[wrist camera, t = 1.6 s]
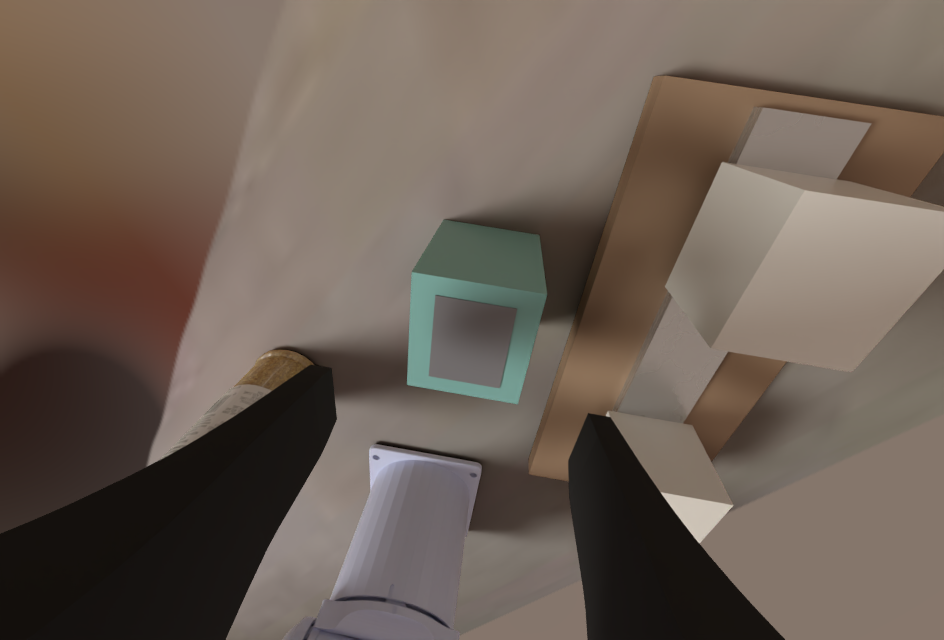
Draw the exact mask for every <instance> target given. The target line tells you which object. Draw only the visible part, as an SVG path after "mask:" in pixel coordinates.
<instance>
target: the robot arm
mask: <svg viewBox="0 0 944 640" xmlns="http://www.w3.org/2000/svg"><path fill="white" fill-rule="evenodd" d="M336 420H337V416H336V407H335V397H334V387H333V377H332V368H328V367H322V366H316V365H311V364H310V365H309V366H307V367H306V368H304V369H303V370H301V371H300V372H299V373H297V374H296V375H294V376H293V377H291V378H290V379H288V380H287V381H285V382H284V383H283V384H281V385H280V386H278V387H277V388H275V389H274V390H272V391H271V392H270V393H268V394H267V395H265V396H264V397H262V398H261V399H259V400H258V401H256V402H255V403H253V404H252V405H250V406H249V407H247V408H246V409H244V410H243V411H241V412H240V413H238V414H237V415H235V416H234V417H232V418H231V419H229V420H227V421H226V422H224V423H222V424H221V425H219V426H218V427H216V428H214V429H213V430H211V431H210V432H208V433H206V434H205V435H203V436H201V437H200V438H198V439H197V440H195V441H193V442H191V443H190V444H188V445H186V446H185V447H183V448H181V449H179V450H177V451H176V452H174V453H172V454H170V455H168V456H167V457H165V458H163V459H161V460H159V461H157V462H155V463H153V464H151V465H150V466H148V467H146V468H144V469H142V470H140V471H138V472H136V473H134V474H132V475H130V476H128V477H126V478H124V479H122V480H120V481H118V482H116V483H113V484H112V485H109V486H107V487H105V488H103V489H101V490H99V491H97V492H95V493H92V494H91V495H88V496H86V497H84V498H82V499H80V500H78V501H76V502H74V503H71V504H69V505H67V506H65V507H63V508H60V509H58V510H55V511H53V512H51V513H49V514H46V515H44V516H42V517H39V518H37V519H35V520H33V521H30V522H28V523H25V524H23V525H20V526H18V527H16V528H13V529H11V530H8V531H6V532H4V533H1V534H0V640H226V637H227V635H228V633H229V630H230V628H231V626H232V624H233V622H234V619H235V617H236V615H237V613H238V610H239V608H240V606H241V604H242V602H243V599H244V597H245V595H246V593H247V590H248V588H249V586H250V584H251V582H252V580H253V578H254V576H255V574H256V571H257V569H258V567H259V565H260V563H261V561H262V559H263V557H264V555H265V552H266V550H267V548H268V546H269V545H270V543H271V541H272V539H273V537H274V535H275V533H276V531H277V530H278V528H279V526H280V525H281V523H282V521H283V519H284V518H285V516H286V514H287V513H288V511H289V509H290V507H291V506H292V504H293V502H294V501H295V499H296V497H297V496H298V494H299V492H300V490H301V489H302V487H303V485H304V484H305V482H306V480H307V478H308V477H309V475H310V473H311V472H312V470H313V468H314V466H315V465H316V463H317V461H318V459H319V458H320V456H321V454H322V452H323V450H324V448H325V446H326V443H327V441H328V439H329V437H330V434H331V432H332V429H333V427H334V425H335V422H336ZM369 461H370V488H371V492H370V494H369V497H368V500H367V502H366V505H365V508H364V510H363V513H362V516H361V518H360V521H359V524H358V526H357V529H356V532H355V534H354V537H353V539H352V542H351V545H350V547H349V550H348V553H347V555H346V558H345V561H344V563H343V566H342V569H341V571H340V574H339V577H338V579H337V582H336V584H335V587H334V590H333V592H332V595H331V598H330V600H329V599H324V600H323V603H322V605H321V608H320V611H319V613H318V616H317V618H313V617H305V618H303V619H302V620H301V621H300V623H298V624H297V625H295V626H294V627H292V628H291V629H290V630H289V631H288V632H287V634H286V635H285V636H284V638H283V640H459V635H460V632H459V631H457V630H454V629H453V628H454V620H455V612H456V604H457V596H458V588H459V581H460V573H461V565H462V557H463V549H464V541H465V537H466V536H467V534H468V529H469V525H470V520H471V516H472V511H473V507H474V503H475V498H476V494H477V489H478V485H479V481H480V476H481V472H482V466H481V464H479V463H477V462H473V461H467V460H462V459H456V458H451V457H445V456H440V455H434V454H429V453H423V452H418V451H412V450H407V449H401V448H395V447H390V446H384V445H379V444H374V445H372V446H371V448H370V450H369ZM568 477H569V498H570V505H571V512H572V519H573V526H574V532H575V539H576V545H577V552H578V558H579V564H580V571H581V577H582V584H583V591H584V599H585V608H586V621H587V636H588V640H785V639H784V638H783V637H782V636H781V635H780V634H779V633H778V632H777V631H776V630H775V628H774V627H773V626H772V625H771V624H770V623H769V622H768V621H767V620H766V619H765V618H764V617H763V616H762V615H761V614H760V613H759V612H758V610H757V609H756V608H755V607H754V606H753V605H752V604H751V603H750V602H749V601H748V600H747V599H746V597H745V596H744V595H743V594H742V593H741V592H740V591H739V590H738V589H737V587H736V586H735V585H734V584H733V583H732V582H731V581H730V580H729V578H728V577H727V576H726V575H725V574H724V572H723V571H722V570H721V569H720V568H719V567H718V565H717V564H716V563H715V562H714V561H713V560H712V558H711V557H710V556H709V555H708V554H707V553H706V551H705V550H704V549H703V548H702V546H701V545H700V544H699V543H698V541H697V540H696V539H695V538H694V536H693V535H692V534H691V533H690V531H689V530H688V529H687V527H686V526H685V525H684V523H683V522H682V521H681V519H680V518H679V517H678V516H677V514H676V513H675V512H674V510H673V509H672V508H671V506H670V505H669V503H668V502H667V501H666V499H665V498H664V496H663V495H662V494H661V492H660V491H659V489H658V488H657V486H656V485H655V484H654V482H653V481H652V479H651V478H650V476H649V475H648V473H647V472H646V471H645V469H644V468H643V466H642V465H641V463H640V462H639V460H638V459H637V457H636V455H635V454H634V452H633V451H632V449H631V448H630V446H629V445H628V443H627V442H626V440H625V439H624V437H623V435H622V434H621V432H620V431H619V429H618V428H617V426H616V425H615V423H614V422H613V420H612V419H611V417H608V416H602V415H596V414H591V413H588V414H587V417H586V419H585V421H584V424H583V426H582V429H581V431H580V433H579V436H578V438H577V441H576V443H575V445H574V448H573V450H572V452H571V455H570V457H569V460H568Z"/></svg>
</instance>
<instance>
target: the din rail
mask: <svg viewBox="0 0 944 640" xmlns="http://www.w3.org/2000/svg"><path fill="white" fill-rule="evenodd" d="M871 124H872V123H865V122H858V121H851V120H845V119H838V118H831V117H825V116H818V115H811V114H804V113H798V112H791V111H784V110H778V109H771V108H764V107H753V109H752V111H751V114H750V116H749V118H748V120H747V122H746V124H745V126H744V129H743V131H742V133H741V135H740V137H739V139H738V141H737V144H736V146H735V148H734V150H733V152H732V154H731V156H730V159H729V161H728V163H733V164H740V165H746V166H753V167H759V168H766V169H772V170H779V171H785V172H792V173H798V174H805V175H811V176H818V177H824V178H831V179H837V178H838V176H839V175H840V173H841V171H842V170H843V168H844V167H845V165H846V164H847V162H848V160H849V159H850V157H851V156H852V154H853V152H854V151H855V149H856V148H857V146H858V144H859V143H860V141H861V140H862V138H863V137H864V135H865V133H866V132H867V130H868V129H869V127H870V125H871ZM727 353H728V351H722V350H716V349H711V348H710V347H709V346H708V344H707V343H706V342H705V340H704V339H703V337H702V336H701V335H700V333H699V332H698V331H697V329H696V328H695V327H694V325H693V324H692V323H691V321H690V320H689V319H688V317H687V316H686V315H685V313H684V312H683V310H682V309H681V308H680V306H679V305H678V304H677V302H676V301H675V300H674V298H673V297H672V296H671V294H670V293H669V292H668V291H667V294H666V296H665V298H664V300H663V302H662V304H661V306H660V309H659V311H658V313H657V315H656V317H655V319H654V321H653V324H652V326H651V328H650V330H649V332H648V334H647V336H646V339H645V341H644V343H643V345H642V347H641V349H640V351H639V354H638V356H637V358H636V360H635V362H634V364H633V366H632V369H631V371H630V373H629V375H628V377H627V379H626V381H625V384H624V386H623V388H622V390H621V392H620V394H619V396H618V399H617V401H616V403H615V405H614V407H613V409H612V411H614V412H620V413H625V414H631V415H637V416H643V417H648V418H654V419H660V420H666V421H671V422H677V423H684V421H685V419H686V418H687V416H688V415H689V413H690V411H691V410H692V408H693V407H694V405H695V403H696V402H697V400H698V399H699V397H700V396H701V394H702V392H703V391H704V389H705V388H706V386H707V384H708V383H709V381H710V380H711V378H712V376H713V375H714V373H715V372H716V370H717V369H718V367H719V365H720V364H721V362H722V361H723V359H724V357H725V356H726V354H727Z"/></svg>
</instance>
